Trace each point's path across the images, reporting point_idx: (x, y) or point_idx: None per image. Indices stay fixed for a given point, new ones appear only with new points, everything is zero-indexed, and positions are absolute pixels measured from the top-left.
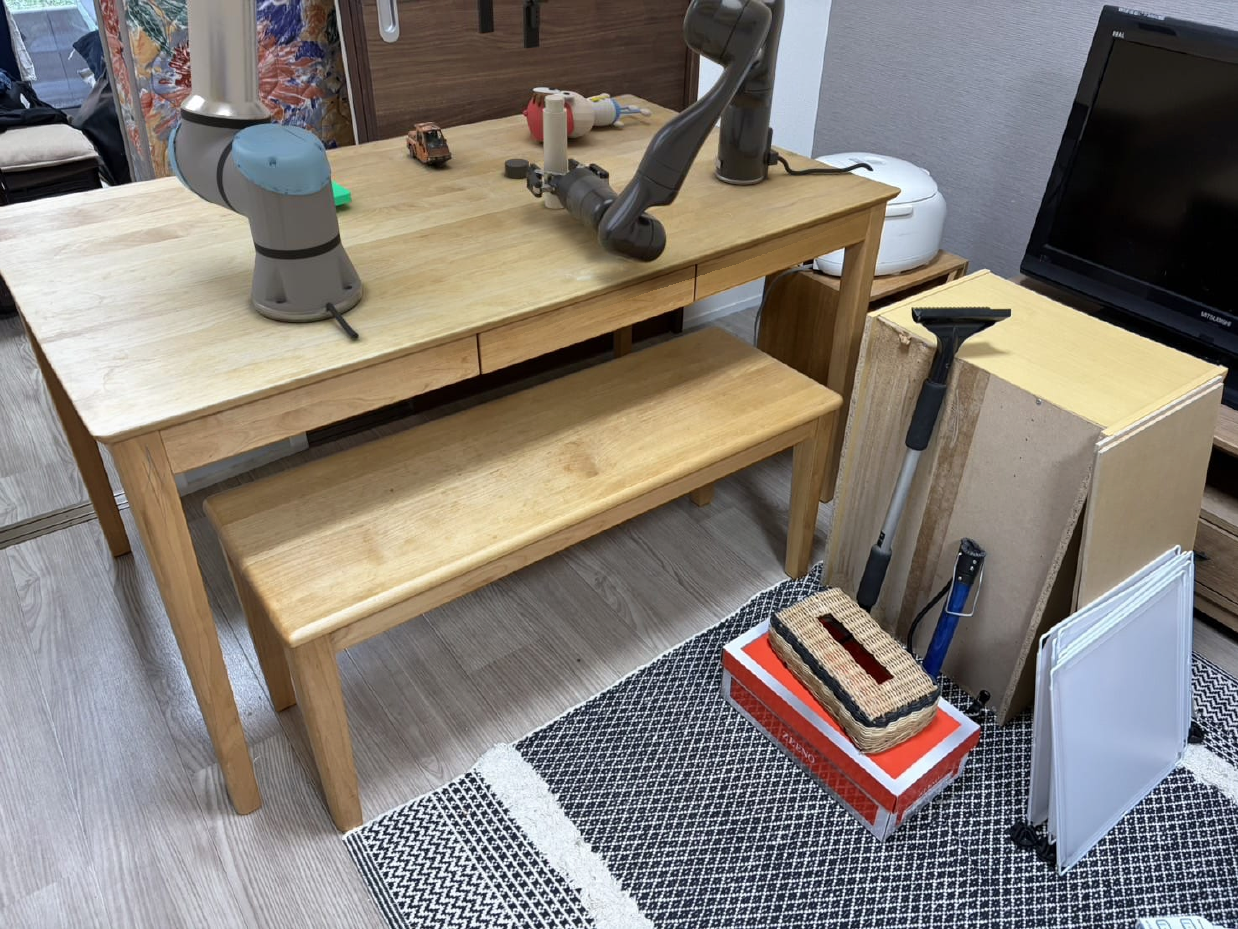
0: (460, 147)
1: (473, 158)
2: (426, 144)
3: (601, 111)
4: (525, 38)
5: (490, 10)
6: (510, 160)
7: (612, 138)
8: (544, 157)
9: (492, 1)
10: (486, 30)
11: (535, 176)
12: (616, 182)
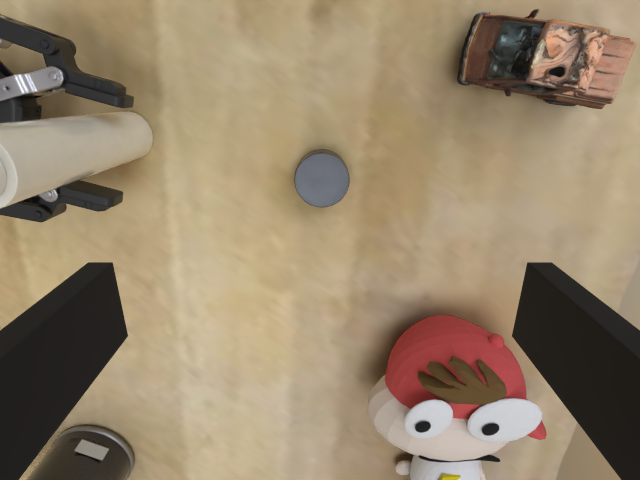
0: (542, 175)
1: (465, 157)
2: (513, 21)
3: (420, 464)
4: (67, 285)
5: (582, 403)
6: (342, 177)
7: (370, 425)
8: (73, 118)
9: (615, 469)
10: (526, 299)
11: (15, 41)
12: (176, 298)
